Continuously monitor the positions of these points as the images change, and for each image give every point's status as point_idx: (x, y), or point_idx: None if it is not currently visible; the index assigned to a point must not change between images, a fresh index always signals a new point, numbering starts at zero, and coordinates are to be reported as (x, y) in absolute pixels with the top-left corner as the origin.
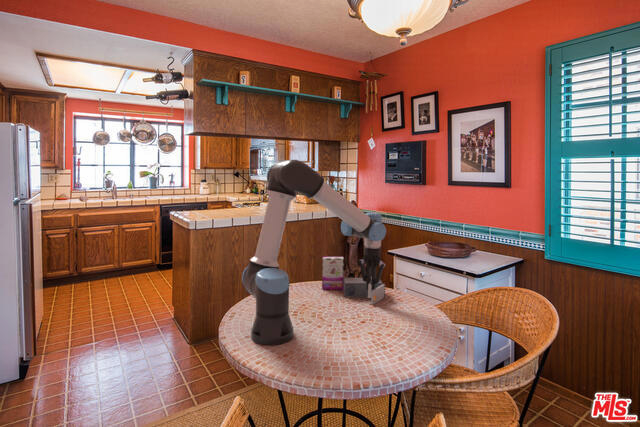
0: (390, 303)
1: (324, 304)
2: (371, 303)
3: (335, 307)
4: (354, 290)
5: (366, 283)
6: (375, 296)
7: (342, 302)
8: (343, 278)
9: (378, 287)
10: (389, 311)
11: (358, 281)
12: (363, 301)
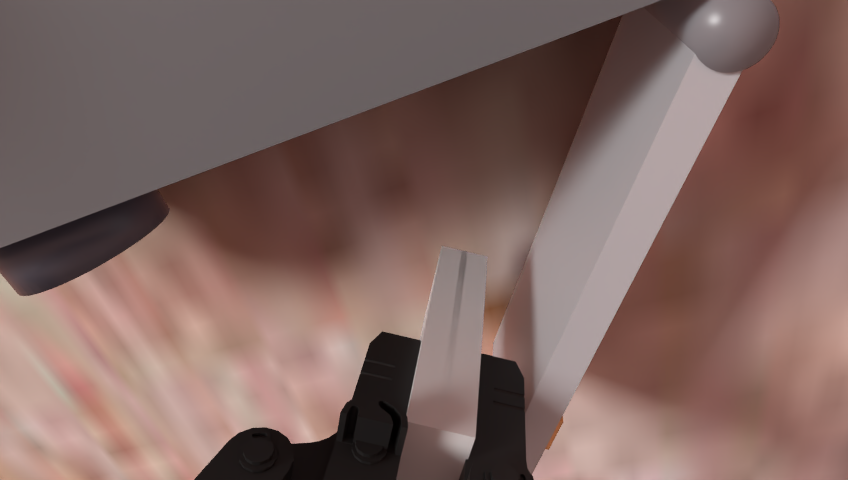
0: (767, 207)
1: (53, 426)
2: (495, 351)
3: (179, 464)
4: (147, 229)
5: (256, 150)
6: (551, 439)
7: (162, 342)
8: None
9: (588, 325)
10: (727, 450)
11: (24, 87)
12: (367, 246)
